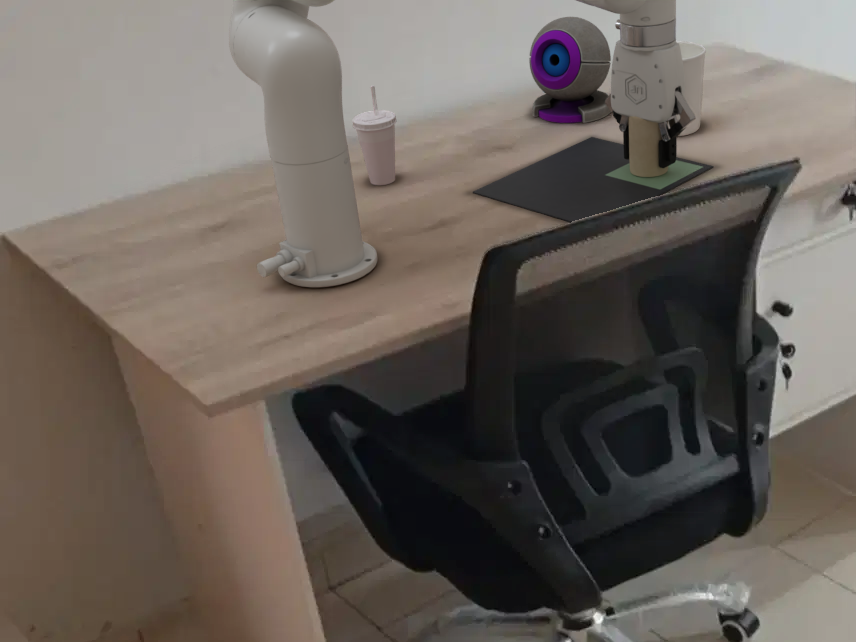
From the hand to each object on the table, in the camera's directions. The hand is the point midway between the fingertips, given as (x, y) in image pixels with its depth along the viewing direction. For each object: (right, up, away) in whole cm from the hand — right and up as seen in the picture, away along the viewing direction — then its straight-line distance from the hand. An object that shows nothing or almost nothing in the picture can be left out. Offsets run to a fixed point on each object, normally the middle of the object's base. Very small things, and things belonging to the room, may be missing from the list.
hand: (649, 159), depth 178 cm
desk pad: (-8, -3, 0) cm, 9 cm away
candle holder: (+6, +8, +16) cm, 18 cm away
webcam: (-9, +13, +26) cm, 31 cm away
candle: (0, -2, +1) cm, 2 cm away
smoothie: (-39, -2, +7) cm, 39 cm away
